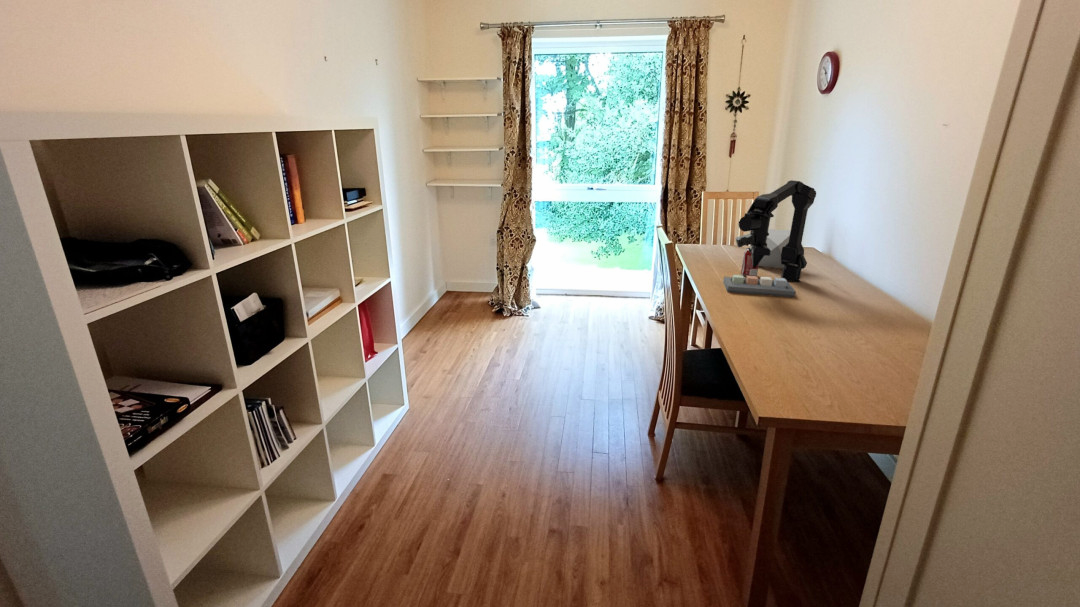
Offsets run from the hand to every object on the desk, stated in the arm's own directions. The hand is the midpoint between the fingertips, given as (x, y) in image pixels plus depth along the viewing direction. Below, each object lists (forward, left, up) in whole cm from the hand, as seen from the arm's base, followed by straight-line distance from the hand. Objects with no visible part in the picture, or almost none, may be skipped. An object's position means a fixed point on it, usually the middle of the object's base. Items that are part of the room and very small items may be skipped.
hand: (754, 267), depth 205 cm
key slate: (-11, 0, -7) cm, 13 cm away
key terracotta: (0, 0, -7) cm, 7 cm away
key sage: (+6, 0, -7) cm, 9 cm away
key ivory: (-5, 0, -7) cm, 9 cm away
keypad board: (-3, 0, -9) cm, 9 cm away
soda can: (-3, -21, -9) cm, 23 cm away
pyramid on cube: (-16, -41, -9) cm, 45 cm away
